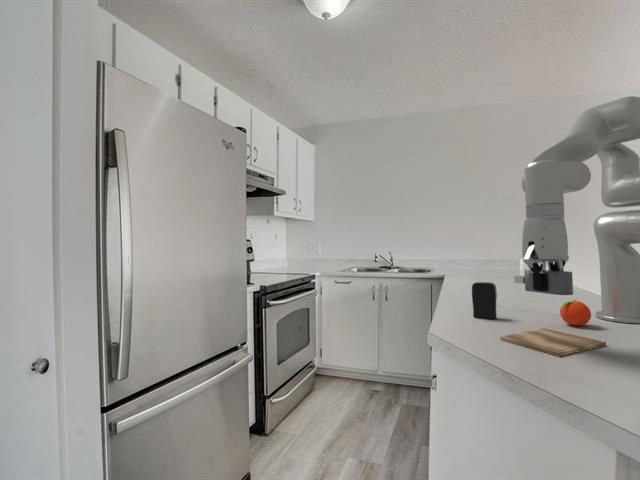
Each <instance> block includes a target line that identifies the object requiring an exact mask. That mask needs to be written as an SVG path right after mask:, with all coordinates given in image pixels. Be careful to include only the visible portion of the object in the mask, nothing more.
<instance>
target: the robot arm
mask: <svg viewBox="0 0 640 480" xmlns="http://www.w3.org/2000/svg"><path fill="white" fill-rule="evenodd" d="M639 139H640V96H634V95H633V96H630V95H629V96H625V97H620V98H618V99H615V100H612V101H608V102H605V103H601V104H598V105H597V106H593V107H590V108H588V109H586V110H584V111H583V112H582V113H580V115H579V116H578V117H577V118H576V120H575V122H574V123H573V125H572V127H571V128H570V129H569V131H568V133H567V134H566V135H565V136H564V138H562V139H560V140H558V141H557V142H556V143H555V144H553V145H552V146H549V147H548V148H547V149H546V150H543V151H542V152H541V153H539V154H538V155H537V156H535V158H534V159H532V161H530V163H528V164H526V166H525V168H524V173H523V175H522V177H521V188H522V191H523V192H524V195H525V216H526V217H525V218H526V219H524V222H523V229H522V240H521V243H522V244H521V246H522V247H521V253H522V254H521V255H522V258H523V260H522V261H523V263H524V264H526V266H527V267H528V269H529V270H531V273H533V289H534V290H538V291H548V277H547V274H545V270H547V268H548V270H553V271H565V268H564V267H565V266H566V263H567V262H568V261H569V260H570V256H569V245H568V244H569V243H568V234H567V233H568V232H567V228H566V227H567V226H566V222H565V203H564V201H565V200H564V194H568V193H569V194H570V193H573V192H579V191H581V190H583V189H585V188H586V187H587V186H588V185H589V184H590V182H591V179H592V173H591V170H590V168H589V166H588V165H587V164H586V163H584V162H586V161H587V160H589V159H591V158H592V157H594V156H597V157H598V159H599V161H600V165H601V182H600V184H601V185H600V186H601V190H600V191H601V192H600V194H601V195H600V196H601V202H602V203H603V205H604V206H606V207H608V208H614V209H615V208H619V209H620V208H629V207H630V208H631V207H640V156H639V155H638V154H637V153H636V152H635V151H634V150H632V149H631V148H629V147H628V146H626V145H624V144H623V143H627V142H631V141H635V140H639ZM593 232H594V236H595V240H596V243H597V247H598V256H599V257H598V258H599V278H600V296H601V310H600V311H599V310H598V311H596V312H595V317H597V318H598V319H601V320H605V321H610V322H617V323H625V324H626V323H627V324H640V253H639V251H638V250H636V249H635V248H634V247H633V246H632V245H635V244H637V245H638V244H640V209H636V210H635V209H634V210H633V209H631V210H620V211H610V212H606V213H603V214H601V215H599V216H598V217H596V218H595V220H594V222H593ZM547 266H548V267H547Z"/></svg>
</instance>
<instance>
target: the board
mask: <svg viewBox="0 0 640 480" xmlns="http://www.w3.org/2000/svg"><path fill="white" fill-rule="evenodd" d="M503 340H504V341H503ZM500 341H503V342H506V341H507V342H506V343H510V342H511V343H510V344H513V343H514V345H517V344H518V345H517V346H520V345H521V347H523V346H524V348H527V347H528V348H527V349H530V348H532V349H531V350H534V349H535V350H534V351H537V350H539V351H538V352H540V351H542V353H544V352H545V353H544V354H547V353H548V355H551V354H552V355H551V356H554V355H555V357H558V356H561V357H564V356H563V355H565V356H568V355H567V354H569V355H571V354H570V353H573V354H575V353H574V352H577V351H581V352H583V351H582V350H586V351H588V350H587V349H590V350H593V349H592V348H594V349H598V348H601V347H607V342H606V341H602V340H600V339H599V340H598V339H594V338H589V337H587V336H586V337H585V336H581V335H577V334H576V335H575V334H572V333H566V332H563V331H558V330H555V329H549V328H546V327H545V328H544V327H543V328H539V329H534V330H533V329H532V330H529V331H523V332H518V333H513V334H507V335H501V336H500ZM577 353H578V352H577Z"/></svg>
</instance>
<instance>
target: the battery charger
mask: <svg viewBox="0 0 640 480" xmlns="http://www.w3.org/2000/svg"><path fill="white" fill-rule="evenodd" d="M471 299H472V313H473V314H472V315H473V318H478V319H488V320H496V319H497V318H498V314H497V299H498V294H497V285H496V284H495V283H494V282H491V281H476V282H474V283H472V284H471Z"/></svg>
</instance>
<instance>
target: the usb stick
mask: <svg viewBox="0 0 640 480" xmlns="http://www.w3.org/2000/svg"><path fill="white" fill-rule="evenodd" d="M523 271H524V274H520V275H519V274H518V275H514V276H513V277H514V284H521V285H522V284H524V290H525V292H526V291H527V292H530V293H531V292H533V293H540V294H541V293H542V294H547V295H555V296H557V295H558V296H573V295H574V286H573V285H574V284H573V271H570V270H569V271H565V270H564V271H553V270H549V269H546V270H545V274H547V277H548V291H538V290H534V289H533V273H531V269H524V270H523Z"/></svg>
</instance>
